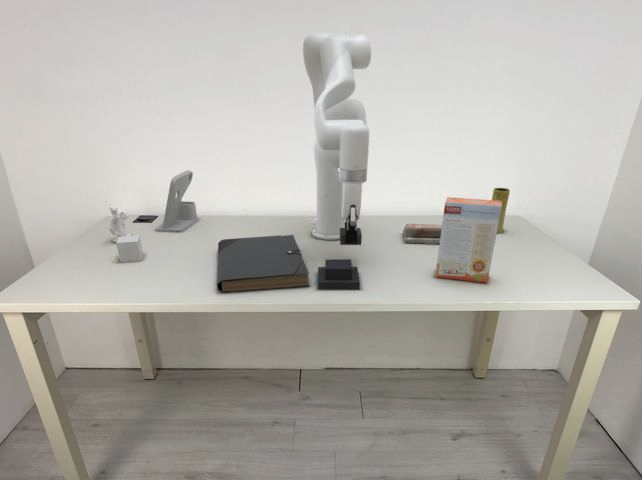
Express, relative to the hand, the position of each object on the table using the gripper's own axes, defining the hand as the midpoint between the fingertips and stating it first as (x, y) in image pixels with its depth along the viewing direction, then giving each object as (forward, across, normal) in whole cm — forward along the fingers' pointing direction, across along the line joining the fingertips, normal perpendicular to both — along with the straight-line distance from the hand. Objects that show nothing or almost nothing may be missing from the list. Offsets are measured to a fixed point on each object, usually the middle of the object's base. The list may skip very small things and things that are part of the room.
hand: (350, 238), depth 137 cm
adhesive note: (+8, -3, -66) cm, 67 cm away
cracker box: (+7, +11, +31) cm, 33 cm away
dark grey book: (+7, +4, -26) cm, 28 cm away
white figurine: (+9, -19, -75) cm, 78 cm away
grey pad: (+1, 0, 0) cm, 1 cm away
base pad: (+7, +15, -4) cm, 17 cm away
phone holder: (+9, -38, -61) cm, 73 cm away
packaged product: (+8, -21, +28) cm, 36 cm away
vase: (+8, -31, +53) cm, 62 cm away
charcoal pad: (+5, +15, -4) cm, 16 cm away
